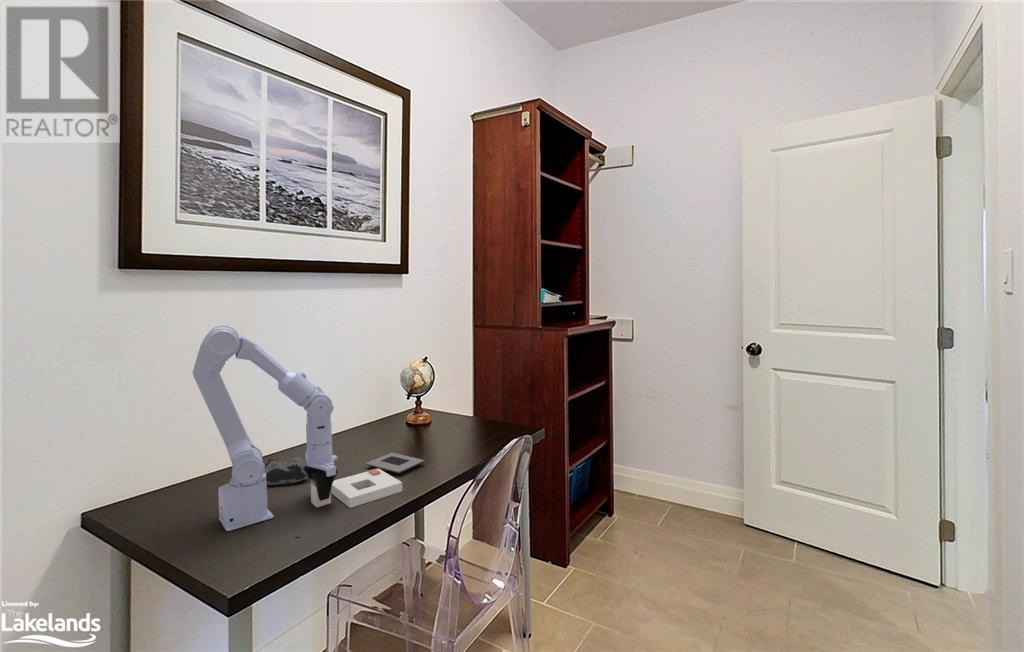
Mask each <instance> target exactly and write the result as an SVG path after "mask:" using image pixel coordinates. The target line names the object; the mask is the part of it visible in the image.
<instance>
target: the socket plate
mask: <svg viewBox="0 0 1024 652" xmlns="http://www.w3.org/2000/svg"><path fill="white" fill-rule="evenodd" d="M401 492H403V482H402V481H401V480H399V479H398V478H395V477H394V476H392V475H390V474H389V473H387V472H385V470H382V469H378V468H373V469H369V470H367V471H365V472H364V471H363V472H361V473H357V474H356V473H355V474H353V475H349V476H346V477H342V478H338V479H336V480H335V479H334V481H333V484H332V487H331V495H333V496H334V497H336V498H337V499H338V500H339V501H341V502H342V503H343V504H344V505H345V506H347V507H348V508H349V509H351V508H354V507H358V506H360V505H363V504H368V503H370V502H373V501H376V500H380V499H383V498H386V497H389V496H393V495H395V494H398V493H401Z"/></svg>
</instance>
